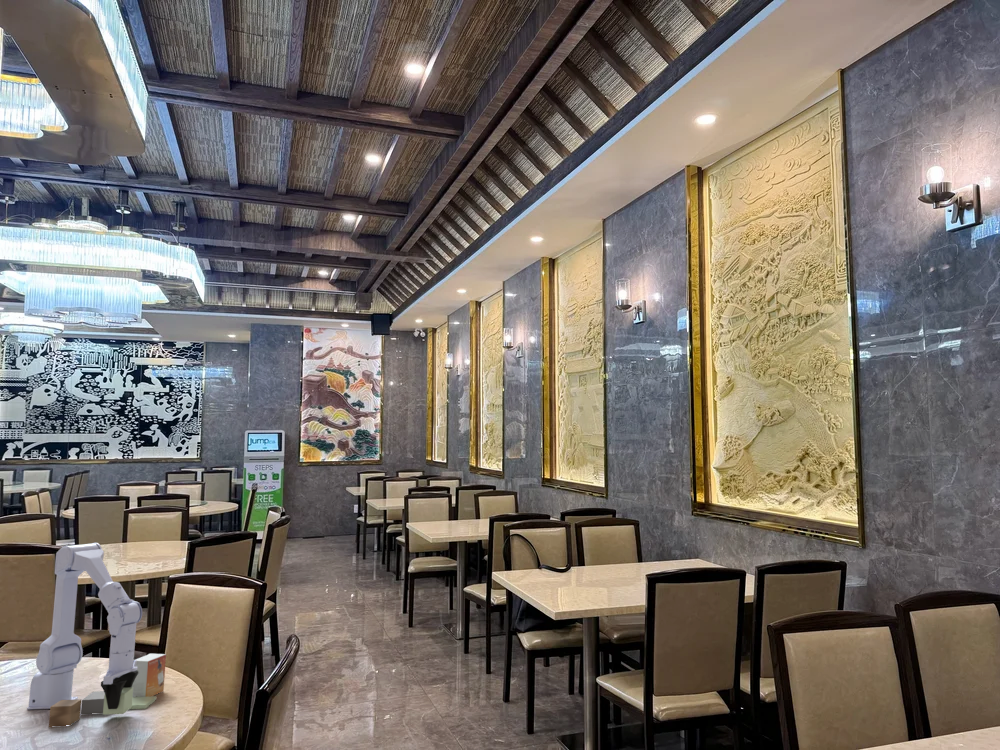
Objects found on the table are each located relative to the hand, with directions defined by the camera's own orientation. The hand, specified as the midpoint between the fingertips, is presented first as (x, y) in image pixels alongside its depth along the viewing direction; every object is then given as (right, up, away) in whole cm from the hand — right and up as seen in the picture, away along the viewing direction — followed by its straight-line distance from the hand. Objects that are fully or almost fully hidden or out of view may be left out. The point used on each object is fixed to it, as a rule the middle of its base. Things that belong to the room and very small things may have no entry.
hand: (117, 704), depth 173 cm
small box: (-2, -6, +17) cm, 18 cm away
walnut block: (-12, -3, -4) cm, 13 cm away
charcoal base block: (-8, -5, +6) cm, 11 cm away
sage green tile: (0, -5, +9) cm, 11 cm away
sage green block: (0, -2, 0) cm, 2 cm away
